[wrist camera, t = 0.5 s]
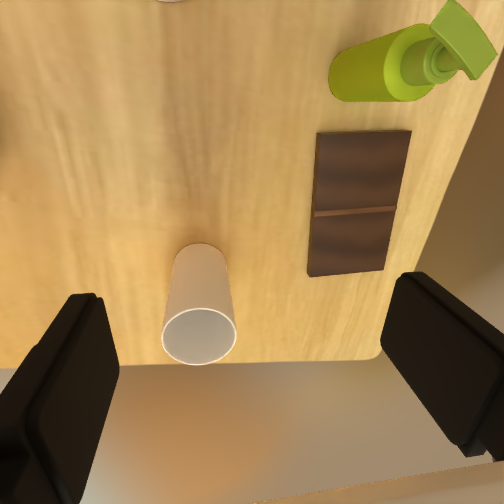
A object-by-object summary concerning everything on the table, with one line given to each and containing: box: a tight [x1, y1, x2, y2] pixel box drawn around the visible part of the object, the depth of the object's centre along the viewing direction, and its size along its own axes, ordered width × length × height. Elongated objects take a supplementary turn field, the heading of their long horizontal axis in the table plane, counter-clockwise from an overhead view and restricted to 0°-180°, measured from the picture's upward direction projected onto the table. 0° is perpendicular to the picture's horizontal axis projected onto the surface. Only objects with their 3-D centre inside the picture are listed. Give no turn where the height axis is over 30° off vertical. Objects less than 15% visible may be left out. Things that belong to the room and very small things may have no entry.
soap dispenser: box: [328, 0, 498, 102], centre depth 29 cm, size 6×7×20 cm
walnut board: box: [307, 130, 412, 277], centre depth 46 cm, size 22×13×2 cm, turn 1°
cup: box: [161, 243, 236, 365], centre depth 40 cm, size 8×8×16 cm
